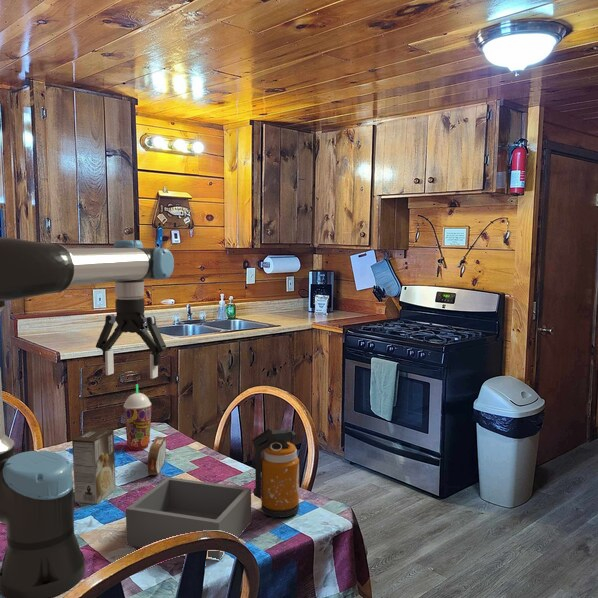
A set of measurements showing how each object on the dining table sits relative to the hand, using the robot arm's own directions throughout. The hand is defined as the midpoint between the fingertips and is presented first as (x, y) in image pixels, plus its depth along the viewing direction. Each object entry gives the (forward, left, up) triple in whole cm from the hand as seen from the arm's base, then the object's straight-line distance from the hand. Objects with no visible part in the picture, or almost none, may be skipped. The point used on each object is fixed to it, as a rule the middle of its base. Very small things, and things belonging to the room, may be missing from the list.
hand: (131, 375), depth 158 cm
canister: (-9, -45, -28) cm, 53 cm away
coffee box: (-15, +2, -28) cm, 32 cm away
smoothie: (+19, +11, -28) cm, 36 cm away
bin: (-25, -30, -28) cm, 48 cm away
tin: (+5, -4, -28) cm, 29 cm away
